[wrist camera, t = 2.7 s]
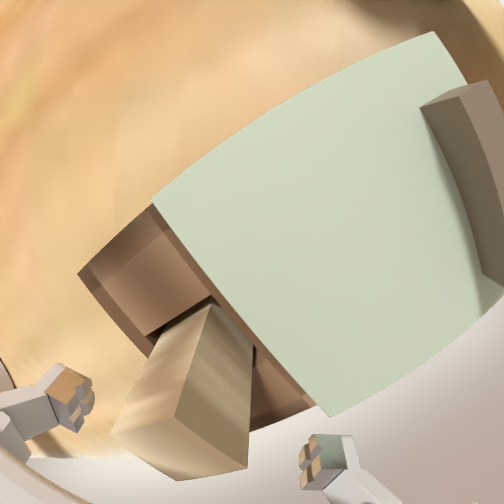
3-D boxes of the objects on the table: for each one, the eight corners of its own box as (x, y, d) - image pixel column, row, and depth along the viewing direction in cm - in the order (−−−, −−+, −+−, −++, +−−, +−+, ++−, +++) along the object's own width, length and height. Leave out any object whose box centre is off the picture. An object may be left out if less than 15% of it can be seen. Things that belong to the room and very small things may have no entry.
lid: (326, 404, 13) (338, 454, 10) (159, 195, 10) (115, 210, 7) (513, 267, 10) (551, 290, 7) (422, 38, 8) (464, 10, 4)
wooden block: (216, 323, 19) (176, 481, 7) (187, 288, 18) (108, 435, 7) (254, 301, 18) (247, 468, 7) (225, 262, 17) (173, 416, 6)
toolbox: (242, 368, 21) (236, 436, 14) (133, 237, 18) (77, 273, 12) (454, 231, 17) (515, 259, 11) (374, 74, 14) (426, 37, 8)
